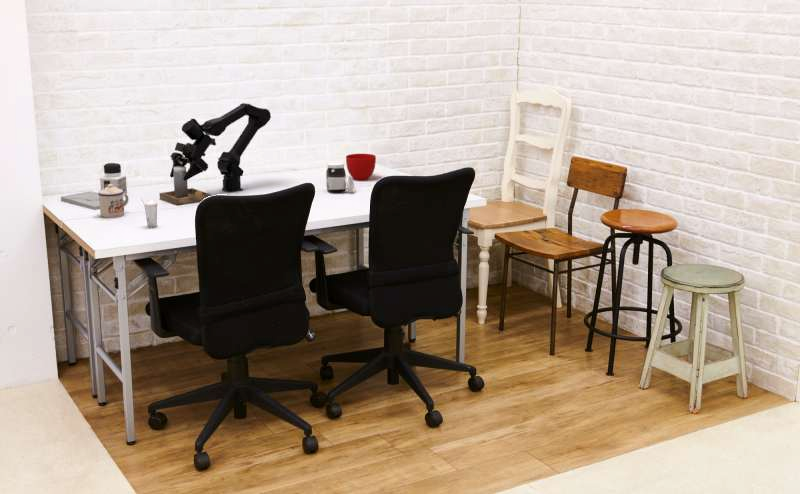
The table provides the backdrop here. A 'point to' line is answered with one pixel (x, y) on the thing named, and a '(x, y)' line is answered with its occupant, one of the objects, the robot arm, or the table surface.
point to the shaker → (180, 182)
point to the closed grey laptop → (84, 199)
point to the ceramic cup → (360, 165)
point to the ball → (198, 193)
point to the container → (113, 177)
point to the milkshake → (151, 213)
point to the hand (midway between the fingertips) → (177, 178)
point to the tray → (181, 201)
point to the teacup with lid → (112, 201)
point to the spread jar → (338, 179)
